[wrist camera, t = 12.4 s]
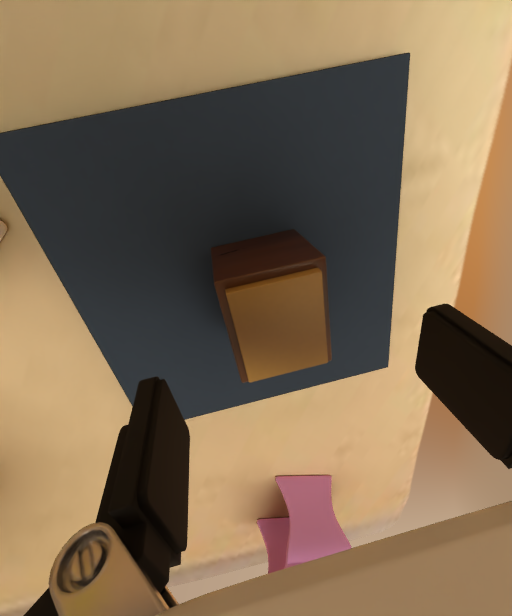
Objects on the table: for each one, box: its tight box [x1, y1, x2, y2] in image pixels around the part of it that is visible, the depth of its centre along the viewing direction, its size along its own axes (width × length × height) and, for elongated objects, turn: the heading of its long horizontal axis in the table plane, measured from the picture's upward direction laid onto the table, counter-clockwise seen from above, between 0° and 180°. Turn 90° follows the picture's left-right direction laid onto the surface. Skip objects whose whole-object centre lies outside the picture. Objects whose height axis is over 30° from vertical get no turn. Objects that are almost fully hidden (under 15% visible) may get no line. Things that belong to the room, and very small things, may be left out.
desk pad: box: [0, 53, 410, 420], centre depth 18 cm, size 20×20×1 cm
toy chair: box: [257, 475, 351, 574], centre depth 26 cm, size 8×9×15 cm
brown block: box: [211, 229, 332, 383], centre depth 16 cm, size 6×5×6 cm
